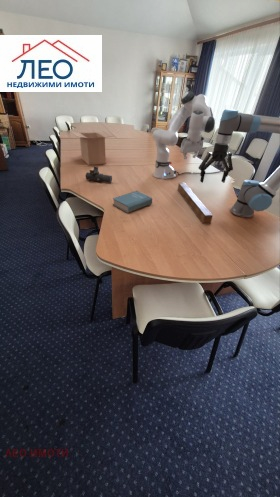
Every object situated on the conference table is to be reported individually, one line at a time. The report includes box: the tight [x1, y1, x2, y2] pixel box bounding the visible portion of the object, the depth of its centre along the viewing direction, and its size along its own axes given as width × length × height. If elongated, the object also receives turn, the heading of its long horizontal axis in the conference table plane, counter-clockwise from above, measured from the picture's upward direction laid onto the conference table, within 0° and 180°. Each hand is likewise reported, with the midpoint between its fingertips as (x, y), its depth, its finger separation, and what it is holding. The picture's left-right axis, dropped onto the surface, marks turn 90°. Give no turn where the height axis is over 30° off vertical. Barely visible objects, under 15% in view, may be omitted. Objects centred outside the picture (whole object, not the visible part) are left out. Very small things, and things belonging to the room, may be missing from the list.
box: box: [70, 129, 114, 166], centre depth 229 cm, size 44×36×27 cm
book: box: [112, 190, 153, 214], centre depth 155 cm, size 23×16×5 cm
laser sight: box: [85, 166, 113, 184], centre depth 187 cm, size 10×22×10 cm, turn 78°
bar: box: [177, 182, 214, 225], centre depth 161 cm, size 56×5×6 cm, turn 9°
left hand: (189, 158), depth 164 cm, fingers open, 8 cm apart
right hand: (212, 182), depth 131 cm, fingers open, 13 cm apart
